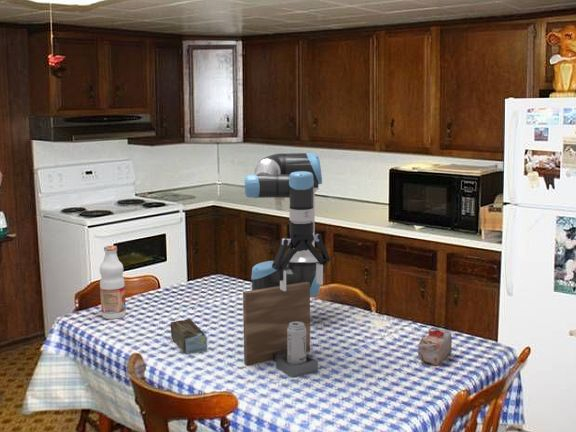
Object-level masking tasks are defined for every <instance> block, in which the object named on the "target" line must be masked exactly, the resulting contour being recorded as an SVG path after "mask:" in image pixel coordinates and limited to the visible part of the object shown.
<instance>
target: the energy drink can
mask: <svg viewBox="0 0 576 432" xmlns="http://www.w3.org/2000/svg"><path fill="white" fill-rule="evenodd" d="M306 354H307V352H306V327H305V326H304V323H303V322H297V321H296V322H291V323H289V326H288V328H287V362H289V363H290V364H292V365H295V364H299V363H304V362H306Z"/></svg>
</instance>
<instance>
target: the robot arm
mask: <svg viewBox="0 0 576 432" xmlns="http://www.w3.org/2000/svg"><path fill="white" fill-rule="evenodd" d="M320 160H321V159H320V156H319V155H318V154H317V153H310V152H302V153H300V152H299V153H298V152H297V153H296V152H295V153H275V154H271V155H268V156H266V157H263V158H261V160H259V161H258V162H257V164H256V165H255V168H254V173H252V174H247V175H246V176H245V177H244V194H245V197H247V198H252V199H258V198H259V199H261V198H265V199H267V198H273V199H275V198H279V199H280V198H287V199H289V213H288V214H289V221H290V222H289V235H290V236H289V238H284V237H281V239H280V244H279V247H278V250H277V252H276V255H275V257H274V260H267V261H262V262H259V263H257V264H255V265H254V266H252V269H251V277H250V278H251V291H252V290H258V289H265V288H271V287H277V286H280V289H281V290H283V291H286V285H289V284H295V283H302V282H309V283H310V297H315V296H317V295H319V293H320V290H321V285H322V286H323V285H324V274H325V272H326V271H325V270H326V265H327V263H328V262H330V261H331V258H330V255H329V253H328V250H327V248H326V247H325V244H324V242H323V235H321V234H319V233H315V227H316V226H315V224H316V223H315V222H316V221H315V214H316V213H315V209H316V208H315V205H316V204H315V195H316V192H317V191H318V190H319V185H322V184H323V176H322V175H323V174H322V169H321V168H322V167H321V162H320ZM315 244H316V246H317V248H318V250H317V249H316V247H315ZM288 246H289V247H288ZM318 251H319V252H318Z"/></svg>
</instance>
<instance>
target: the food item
mask: <svg viewBox="0 0 576 432" xmlns="http://www.w3.org/2000/svg"><path fill="white" fill-rule="evenodd" d="M427 330H428V334H427V336H426V335H424V336H423V337H422V338H420V341H419V343H418V344H417V347H418V348H417V358H418V360H420V361H422V362H424V363H425V364H429V365H432V366H439V364H441V363H442V362H443V361H444V360H445V359H446V358H447V357H448V356H449V355H451V353H452V350H453V349H452V348H453V347H452V340H453V339H452V333H451V332H450V331H448V330H445V329H439V328H438V329H434V330H431V329H427ZM425 336H426V337H425Z"/></svg>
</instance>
